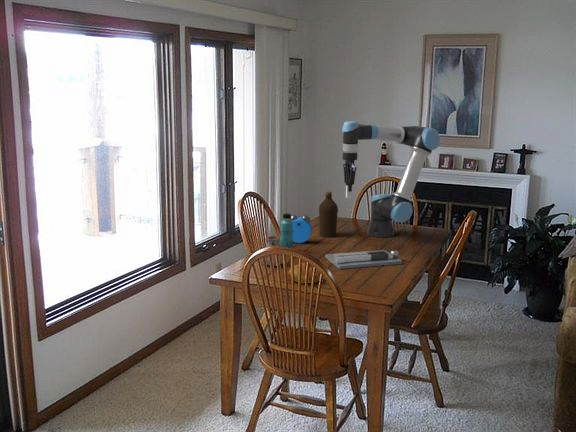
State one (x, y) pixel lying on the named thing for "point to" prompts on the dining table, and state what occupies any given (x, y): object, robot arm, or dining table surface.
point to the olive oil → (328, 217)
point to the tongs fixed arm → (367, 257)
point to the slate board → (362, 263)
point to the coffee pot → (273, 242)
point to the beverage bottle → (286, 231)
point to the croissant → (302, 274)
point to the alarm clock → (301, 228)
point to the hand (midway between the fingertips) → (348, 197)
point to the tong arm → (358, 254)
